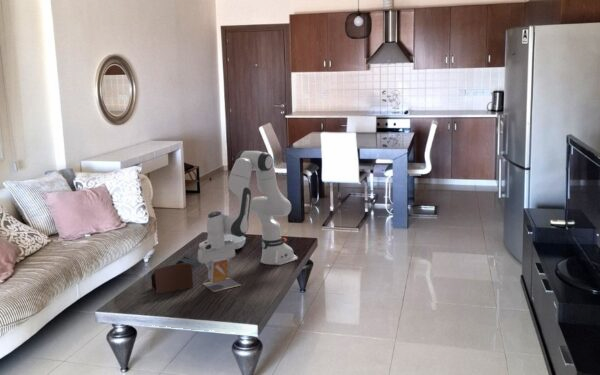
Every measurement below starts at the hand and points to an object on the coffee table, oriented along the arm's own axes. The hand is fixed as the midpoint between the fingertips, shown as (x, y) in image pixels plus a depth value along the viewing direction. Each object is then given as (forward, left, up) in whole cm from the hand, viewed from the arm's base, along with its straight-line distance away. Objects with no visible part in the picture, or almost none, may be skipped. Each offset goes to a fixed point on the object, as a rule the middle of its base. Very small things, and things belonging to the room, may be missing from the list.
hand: (217, 267), depth 310 cm
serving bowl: (-34, -57, -11) cm, 67 cm away
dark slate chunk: (+3, -40, -11) cm, 42 cm away
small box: (0, -1, -7) cm, 7 cm away
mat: (-2, 0, -10) cm, 10 cm away
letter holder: (+21, -13, -11) cm, 27 cm away
